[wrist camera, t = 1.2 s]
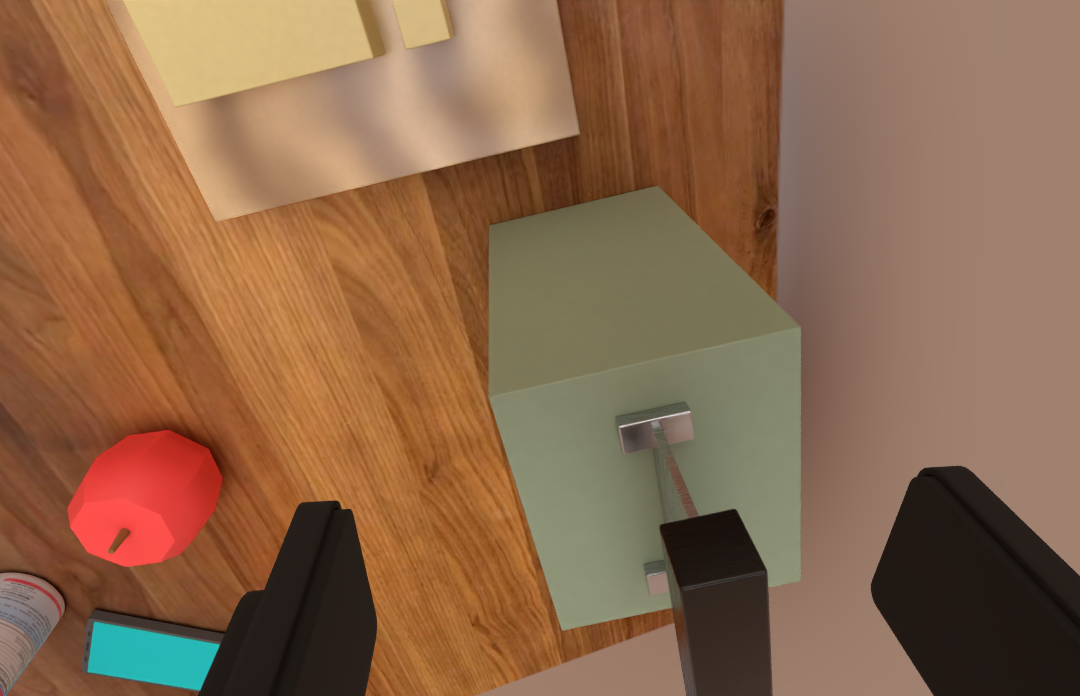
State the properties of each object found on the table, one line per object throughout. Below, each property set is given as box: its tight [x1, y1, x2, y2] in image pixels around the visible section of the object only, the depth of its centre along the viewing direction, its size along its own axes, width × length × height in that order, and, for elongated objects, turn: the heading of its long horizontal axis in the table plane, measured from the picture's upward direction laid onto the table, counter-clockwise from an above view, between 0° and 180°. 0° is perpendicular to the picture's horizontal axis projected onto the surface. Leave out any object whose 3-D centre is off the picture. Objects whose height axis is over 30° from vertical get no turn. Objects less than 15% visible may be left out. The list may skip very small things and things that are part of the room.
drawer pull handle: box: [615, 402, 773, 696], centre depth 18 cm, size 2×9×7 cm, turn 12°
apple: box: [67, 430, 223, 567], centre depth 37 cm, size 8×8×8 cm
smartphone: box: [81, 610, 224, 692], centre depth 50 cm, size 7×1×15 cm
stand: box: [489, 186, 801, 630], centre depth 29 cm, size 10×12×18 cm
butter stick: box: [123, 0, 386, 107], centre depth 26 cm, size 9×4×4 cm, turn 102°
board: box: [105, 0, 580, 222], centre depth 29 cm, size 20×14×2 cm
